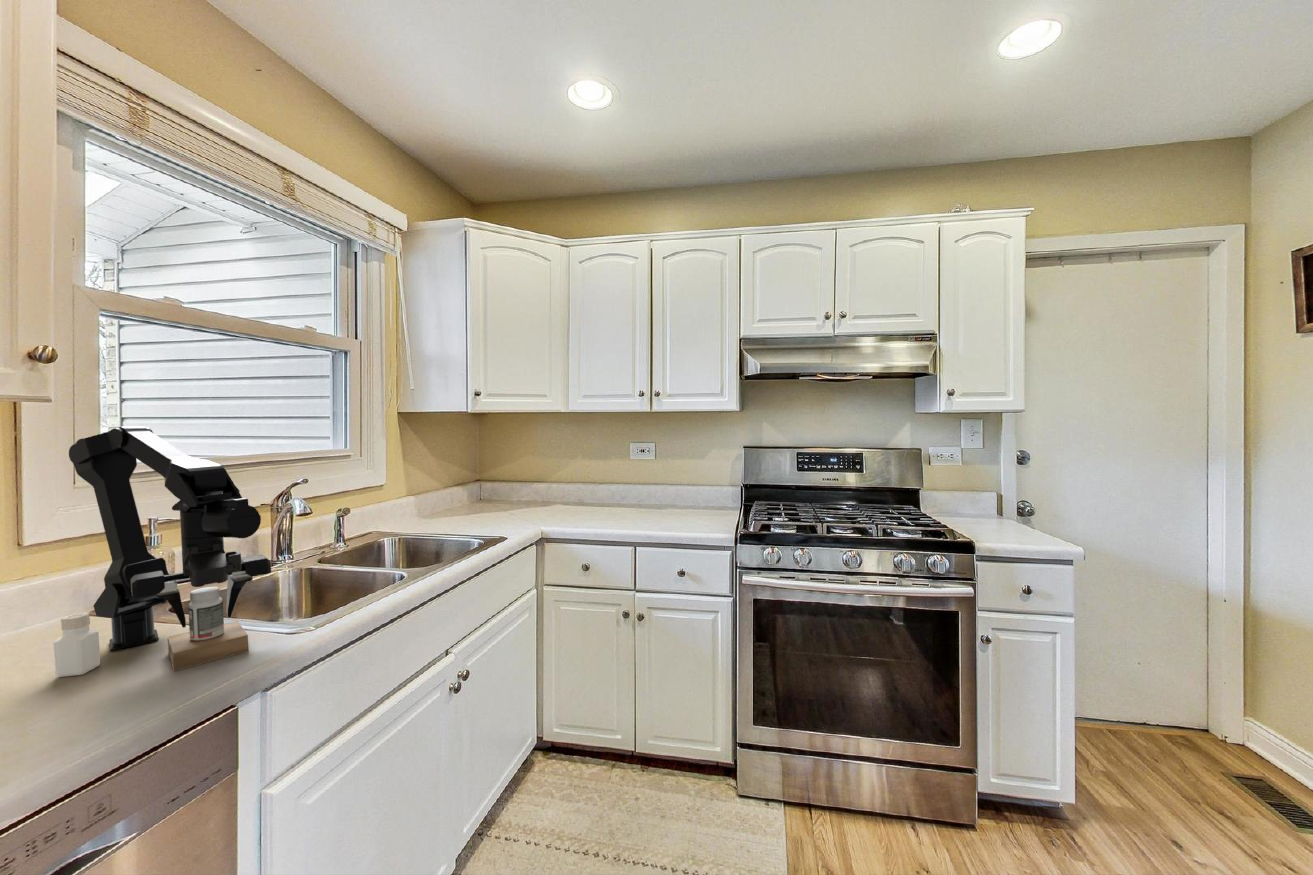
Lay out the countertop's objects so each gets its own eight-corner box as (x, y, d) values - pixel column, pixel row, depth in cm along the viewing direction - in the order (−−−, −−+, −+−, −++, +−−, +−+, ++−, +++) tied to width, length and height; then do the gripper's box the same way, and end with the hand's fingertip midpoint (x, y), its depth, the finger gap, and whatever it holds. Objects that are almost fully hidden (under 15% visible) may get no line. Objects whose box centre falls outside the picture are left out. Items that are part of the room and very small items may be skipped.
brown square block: (168, 653, 96) (167, 636, 96) (238, 636, 103) (237, 620, 103) (174, 671, 89) (173, 653, 89) (248, 651, 96) (247, 634, 96)
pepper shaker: (102, 664, 92) (99, 610, 92) (83, 675, 88) (79, 618, 88) (74, 667, 91) (70, 612, 91) (53, 678, 87) (49, 621, 87)
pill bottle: (230, 630, 99) (229, 585, 98) (210, 640, 94) (208, 593, 94) (204, 631, 98) (202, 585, 98) (182, 641, 94) (180, 594, 93)
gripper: (131, 553, 83) (136, 652, 84) (276, 533, 97) (279, 618, 97) (128, 542, 91) (133, 632, 92) (262, 524, 104) (266, 604, 105)
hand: (206, 621), depth 96 cm, fingers open, 6 cm apart
